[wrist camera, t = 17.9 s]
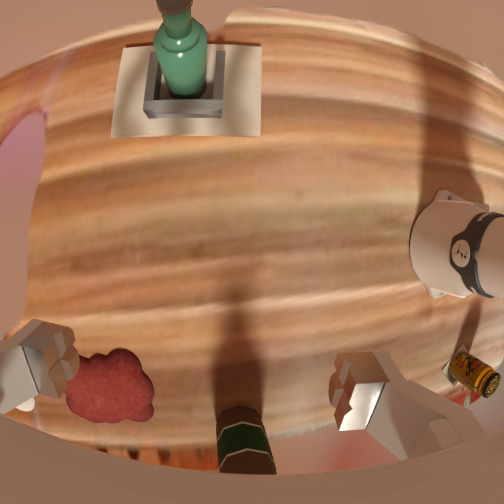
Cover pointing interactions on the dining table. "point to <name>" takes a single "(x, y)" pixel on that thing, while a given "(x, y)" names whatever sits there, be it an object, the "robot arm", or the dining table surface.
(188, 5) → the bottle
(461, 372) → the condiment
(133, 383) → the patty
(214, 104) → the bottle stand
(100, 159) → the dining table surface
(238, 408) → the beer bottle
